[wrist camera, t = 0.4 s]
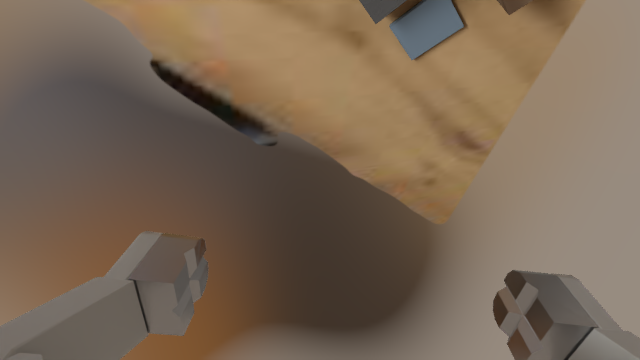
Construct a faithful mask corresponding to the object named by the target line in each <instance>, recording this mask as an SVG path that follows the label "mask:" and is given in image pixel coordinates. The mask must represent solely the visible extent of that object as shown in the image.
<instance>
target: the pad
mask: <svg viewBox="0 0 640 360" xmlns="http://www.w3.org/2000/svg"><path fill="white" fill-rule="evenodd" d="M462 27H464V25H463V23H462V21H461V19H460V17H459V15H458V13H457V11H456V9H455V8H454V6H453V4H452V2H451V0H422V1H421V2H420V3H418V4H417V5H416V6H414V7H413V8H412V9H410V10H409V11H408V12H406V13H405V14H404V15H402V16H401V17H400V18H398V19H397V20H396V21H394V22H393V23H392V24H390V28H391V30H392V31H393V33H394V34H395V36H396V37H397V39H398V40H399V42H400V43H401V45H402V46H403V48H404V49H405V51H406V52H407V54H408V55H409V57H410V58H411V60H413V59H415V58H416V57H418V56H419V55H421V54H423V53H424V52H426V51H427V50H429V49H430V48H432V47H433V46H435V45H436V44H438V43H439V42H441V41H442V40H444V39H446V38H447V37H449V36H450V35H452V34H453V33H455V32H456V31H458V30H459V29H461V28H462Z"/></svg>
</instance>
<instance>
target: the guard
mask: <svg viewBox="0 0 640 360" xmlns="http://www.w3.org/2000/svg"><path fill="white" fill-rule="evenodd" d="M359 1H360V2H361V3H362V5H363V6H364V8H365V9H366V11H367V12H368V14H369V15H370V17H371V18H372V19H373V21H374V22H375V24H377V23H378V22H379V21H381V20H382V19H383V18H384V17H386V16H387V15H388V14H390V13H391V12H392V11H393V10H395V9H396V8H397V7H399V6H400V5H401V4H403V3H404V2H405V1H406V0H359Z"/></svg>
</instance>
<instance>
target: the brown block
mask: <svg viewBox="0 0 640 360" xmlns="http://www.w3.org/2000/svg"><path fill="white" fill-rule="evenodd" d="M497 1H498V2H499V3H500V5H501V6H502V7H503V8H504V10H505V11H506V12H507V13H508V14H509V15H510V14H512V13H513V12H515V11H517V10H518V9H520V8H521V7H523V6H525V5H526V4H528V3H529V2H531V1H533V0H497Z"/></svg>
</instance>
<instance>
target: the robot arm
mask: <svg viewBox="0 0 640 360" xmlns="http://www.w3.org/2000/svg"><path fill="white" fill-rule="evenodd" d="M205 251H206V244H205V240H204V239H203V238H198V237H191V236H183V235H176V234H168V233H165V234H164V233H156V232H149V231H145V232H143V233H141V234H140V235H139V236H138V237H137V238H136V239H135V241H134V242H133V243H132V244H131V245H130V247H129V248H128V249H127V250H126V251H125V253H124V254H123V255H122V256H121V257H120V258H119V260H118V261H117V262H116V263H115V264H114V266H113V267H112V268H111V269H110V270H109V271H108V273H107V274H106V275H105V276H104V277H96V278H94V279H92V280H90V281H88V282H87V283H84V284H82V285H80V286H78V287H76V288H74V289H72V290H71V291H68V292H66V293H64V294H63V295H61V296H59V297H57V298H55V299H53V300H51V301H49V302H47V303H45V304H43V305H41V306H39V307H37V308H35V309H33V310H31V311H29V312H27V313H25V314H23V315H21V316H19V317H17V318H15V319H13V320H11V321H9V322H7V323H5V324H3V325H1V326H0V360H120V359H121V358H122V357H123V356H124V355H126V354H127V353H128V352H129V351H130V350H132V349H133V348H134V347H135V346H136V345H137V344H139V343H140V342H141V341H142V340H143V339H145V338H146V337H147V336H148V333H153V334H167V335H180V336H183V335H184V334H185V331H186V329H187V327H188V325H189V323H190V320H191V318H192V316H193V314H194V306H193V303H194V302H195V301H197V300H198V299H199V298H201V296H202V294H203V292H204V290H205V286H206V282H207V278H208V262H207V261H206V260H205V259H204V257H203V255H204V253H205ZM504 282H505V284H506V287H505V288H503V289H502V290H500V291H498V292H497V294H496V296H495V298H494V301H493V313H494V317H495V320H496V322H497V324H498V327H499V328H500V329H501V330H502V331H503V332H504V333H506V334H507V335H508V336H509V338H508V342H507V345H508V347H509V349H510V351H511V353H512V355H513V357H514V359H515V360H640V338H639V337H637V336H636V335H634V334H632V333H631V332H628V331H623V330H622V329H621V328H620V327H619V325H618V324H617V323H616V322H615V321H614V320H613V319H612V318H611V316H610V315H609V314H608V313H607V312H606V311H605V309H603V307H602V306H601V305H600V304H599V303H598V301H597V300H596V299H595V298H594V297H593V296H592V295H591V293H590V292H589V291H588V290H587V289H586V288H585V287H584V285H583V284H582V283H581V282H580V281H579V280H578V279H577V278H575V277H573V276H572V275H562V274H548V273H538V272H528V271H517V270H512V271H511V272H509V273H508V274H507V276H506V277H505V279H504Z"/></svg>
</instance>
